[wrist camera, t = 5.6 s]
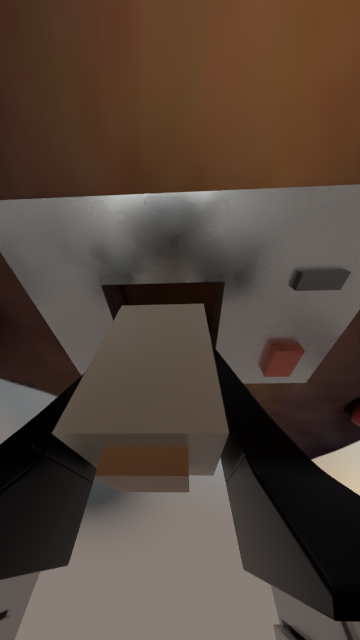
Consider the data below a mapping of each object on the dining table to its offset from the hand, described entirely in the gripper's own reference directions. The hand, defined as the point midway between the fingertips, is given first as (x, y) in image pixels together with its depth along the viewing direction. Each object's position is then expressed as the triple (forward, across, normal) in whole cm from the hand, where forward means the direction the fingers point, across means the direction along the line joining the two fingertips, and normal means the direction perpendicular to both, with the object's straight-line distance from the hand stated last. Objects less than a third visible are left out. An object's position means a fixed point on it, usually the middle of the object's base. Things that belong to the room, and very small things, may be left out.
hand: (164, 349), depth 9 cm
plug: (+1, 0, 0) cm, 1 cm away
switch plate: (+5, -2, 0) cm, 5 cm away
